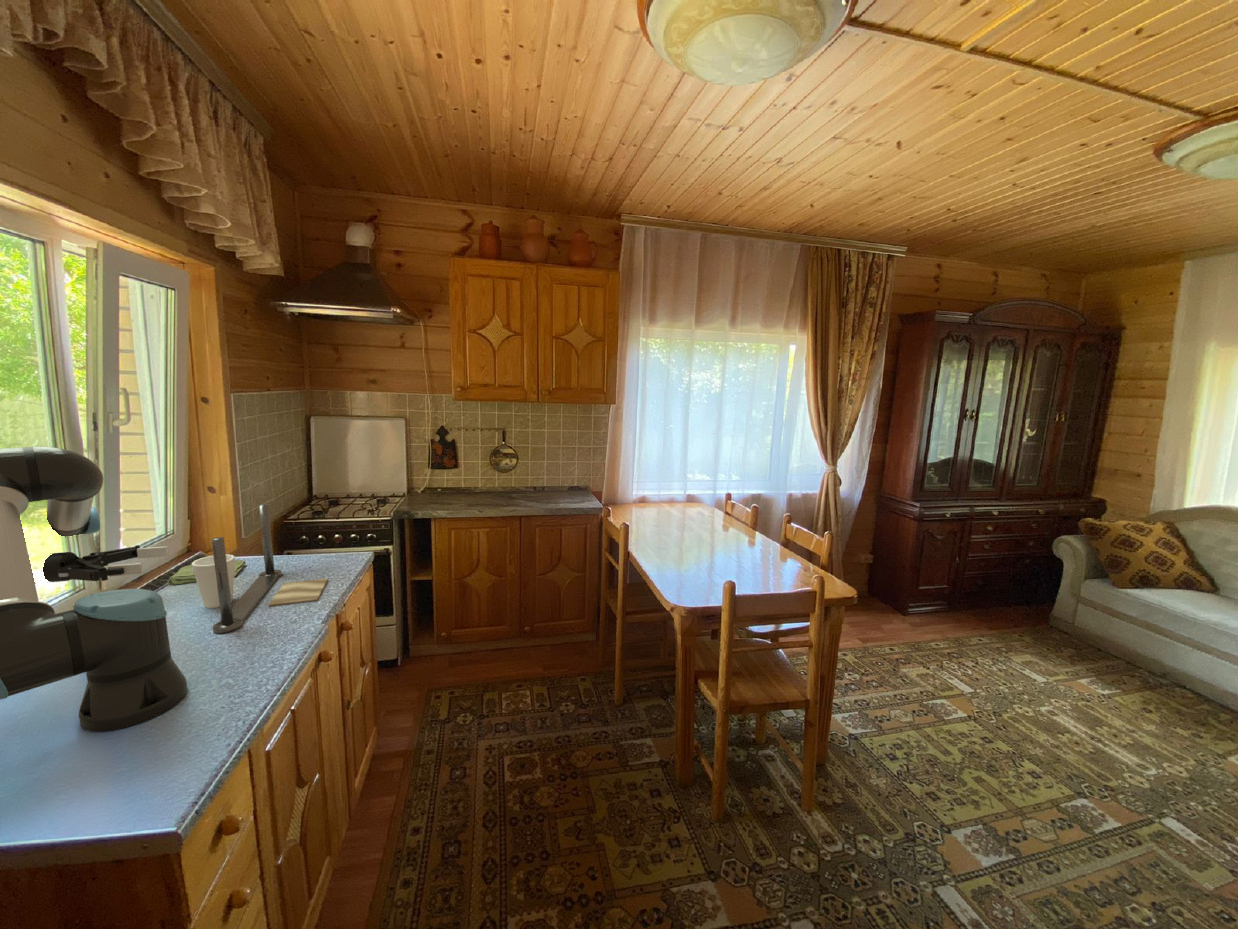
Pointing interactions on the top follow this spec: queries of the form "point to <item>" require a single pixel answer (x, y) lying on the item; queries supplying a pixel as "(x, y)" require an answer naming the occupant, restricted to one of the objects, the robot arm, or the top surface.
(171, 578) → the washcloth
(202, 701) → the top surface
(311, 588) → the birch pad
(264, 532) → the rod gate
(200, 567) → the foam cup
